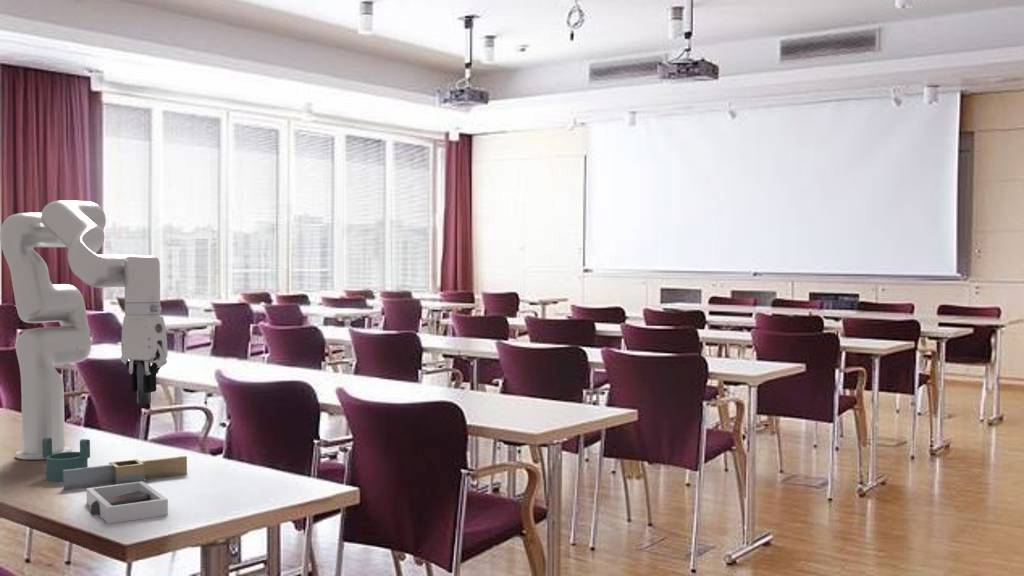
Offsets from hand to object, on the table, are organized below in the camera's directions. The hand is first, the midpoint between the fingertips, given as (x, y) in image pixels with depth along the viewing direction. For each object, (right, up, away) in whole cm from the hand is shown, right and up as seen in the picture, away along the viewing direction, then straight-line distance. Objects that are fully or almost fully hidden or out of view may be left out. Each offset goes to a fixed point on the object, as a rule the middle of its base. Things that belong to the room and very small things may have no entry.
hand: (143, 390), depth 224 cm
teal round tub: (-17, -20, -1) cm, 26 cm away
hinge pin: (0, -3, 0) cm, 3 cm away
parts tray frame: (+7, -21, -28) cm, 35 cm away
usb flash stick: (+7, -21, -28) cm, 35 cm away
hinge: (-2, -20, -5) cm, 20 cm away
